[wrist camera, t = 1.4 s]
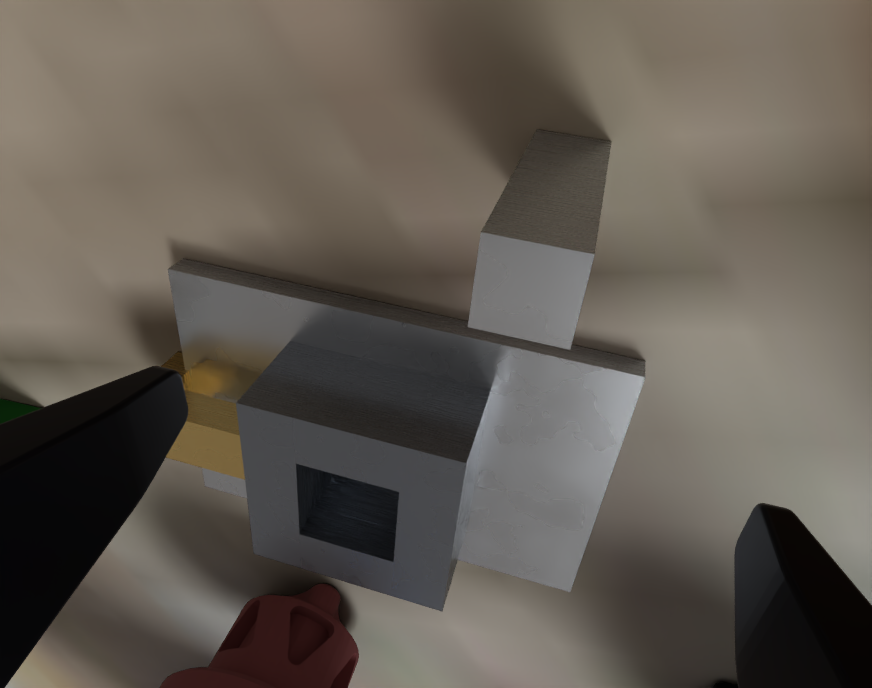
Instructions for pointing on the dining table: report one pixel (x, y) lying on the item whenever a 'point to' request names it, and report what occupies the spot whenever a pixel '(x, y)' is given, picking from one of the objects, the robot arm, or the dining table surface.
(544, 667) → the dining table surface
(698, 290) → the dining table surface
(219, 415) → the square socket plate
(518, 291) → the gray square beam
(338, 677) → the mechanical component
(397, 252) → the dining table surface
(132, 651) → the dining table surface
